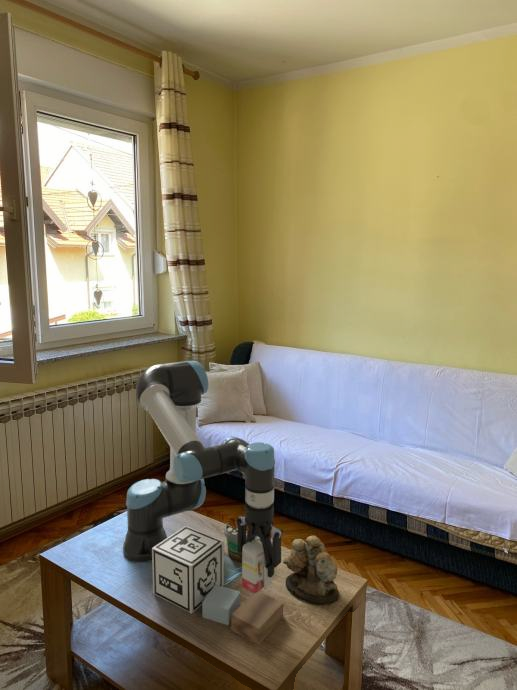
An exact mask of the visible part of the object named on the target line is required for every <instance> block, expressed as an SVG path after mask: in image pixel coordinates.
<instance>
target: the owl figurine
mask: <svg viewBox="0 0 517 690" xmlns="http://www.w3.org/2000/svg"><path fill="white" fill-rule="evenodd" d="M282 563H283V564H284V565H286V568H288V569H289V570H290V571H292V573H290V574H289V575H288V576H287V577H285V587H286V590H287V591H288V592H289V593H291V595H293V596H294V597H296V598H297V599H299V600H301V601H303V602H306V603H307V604H312V605H318V606H326V604H327V605H329V604H330V605H331V603H332V604H334V603H336V602H337V601H338V599H339V597H340V594H339V589H338V585H337V584H336V583H335V579H336V578H337V575H338V563H336V561H335V560H334V559H333V558H332V556H331V554H329V553H328V552H327V551H326V547H325V544H324V543H323V542H322V541H321V539H320V538H319V537H317V535H310V536H308V537H306V539H305V540H304V539H302V538H295V539H294V540H292V544H291V551H290V553H289V555H288V558H284V559H283V561H282Z"/></svg>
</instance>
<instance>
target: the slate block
mask: <svg viewBox="0 0 517 690" xmlns="http://www.w3.org/2000/svg"><path fill="white" fill-rule="evenodd" d="M240 606H241V591H239V590H236V589H233V588H229V587H225V586H219V585H215V586H214V587H213V589H212V590H211V591H210V593H209V594H208V595H207V597H206V598H205V599H204V601H203V602H202V605H201V607H202V618H205V619H207V620H211V621H213V622H217V623H220V624H223V625H227V626H229V625H230V624H231V614H232V613H234V612H235V611H236V610H237V609H238V608H239V607H240Z"/></svg>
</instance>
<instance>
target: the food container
mask: <svg viewBox="0 0 517 690" xmlns="http://www.w3.org/2000/svg"><path fill="white" fill-rule="evenodd" d="M247 533H248V529H246V540H247ZM223 534H224V536H225V538H226V545H227V553H228V554H227V555H228V558H229V559H230V560H232V561H234V562H237V563H242V553H241V552H240V553H239V552H238V551H237V539H238V526H237V527H236V526H231V525H228V522H226V525H225V526H224V531H223ZM256 537H258V536H256ZM256 537H255V538H256Z"/></svg>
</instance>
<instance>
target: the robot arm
mask: <svg viewBox="0 0 517 690" xmlns="http://www.w3.org/2000/svg"><path fill="white" fill-rule="evenodd" d="M208 390H209V377H208V375H207V372H206V369H205V367H204V366H203V365H202V364H201V363H200V362H199V361H197V360H184V361H175V362H169V363H167V362H166V363H157V364H153V365H152V366H151V365H150V366H149V367H147V368H146V369H145V370H144V371H143V372H142V373H141V374H140V376H139V377H138V379H137V382H136V385H135V396H136V400H137V402H138V404H139V405H140V407H141V408H142V409H143V410H145V411H147V412H148V413H149V415H150V416H151V418H152V420H153V421H154V423H155V424H156V426H157V428H158V429H159V431H160V432H161V434H162V435H163V438H164V439H165V441H166V442H167V444H168V446H169V448H170V449H169V451H170V455H169V457H170V459H169V460H170V462H169V463H170V464H169V465H170V466H169V470H168V471H167V472H166V474H165V481H161V480H159V479H156V478H151V479H150V478H146V479H141V480H139V481H136V482H134V483H133V484H132V485H131V486H130V487H129V488H128V490H127V493H126V501H125V504H126V505H125V506H126V516H127V519H126V520H127V530H126V533H125V539H124V541H123V545H122V547H123V548H122V552H123V553H122V554H123V555H124V557H125V558H126V559H128V560H129V561H132V562H139V563H145V562H146V563H147V562H152V548H153V547H154V546H156V545H157V544H159V543H160V542H162V541H163V540H165V539H166V538H168V536H167V533H166V530H165V527H164V523H163V522H164V518H169V517H171V516H174V515H178V514H180V513H184V512H190V511H193V510H194V509H195V510H196V509H199V508H200V507H201V506H202V505H203V504H204V502H205V499H206V494H207V490H206V489H207V488H206V486H205V484H206V483H205V479H206V478H210V477H214V476H218V475H222V474H225V473H229V472H230V473H231V472H233V471H238V472H240V473H241V474H243V475H244V476H245V477H244V479H245V480H244V481H245V482H244V483H245V489H244V491H245V498H244V501H245V504H244V515H243V514H242V515H240V516H239V517H238V518H236V520H235V521H236V525H237V528H238V539H237V551H238V552H239V553H240V552H241V553H242V552H243V546H244V544H246V543H248V542H251V541H252V540H254V539H255V537H256V536H258V537H260V542H262V545H263V550H264V555H265V559H266V565H265V566H264V587H263V589H265V590H267V589H268V588H269V587H270V586H271V585H272V583H273V582H272V581H273V580H272V576H273V575H274V567H275V568H277V567H278V566H279V565H280V564H281V563H282V536H283V533H284V530H283V529H282V528H279V529H278V528H277V527H275V524H274V513H275V510H274V508H275V507H274V501H275V468H276V467H275V465H276V459H275V449H274V447H273V446H272V445H271V444H269V443H264V442H261V441H259V442H258V441H257V442H252V443H248V442H247V441H246V440H244V439H242V438H240V437H238V436H229V437H227V438H225V439H224V440H223V441H222V442H221V444H217V445H212V446H209V447H204V444H202V442H201V441H200V439H199V438H198V436H197V407H198V405H200V404H201V402H202V395H205V394H207V392H208ZM247 528H248V529H247ZM246 530H248V533H247V540H246ZM271 539H273V540H272V543H271Z"/></svg>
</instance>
